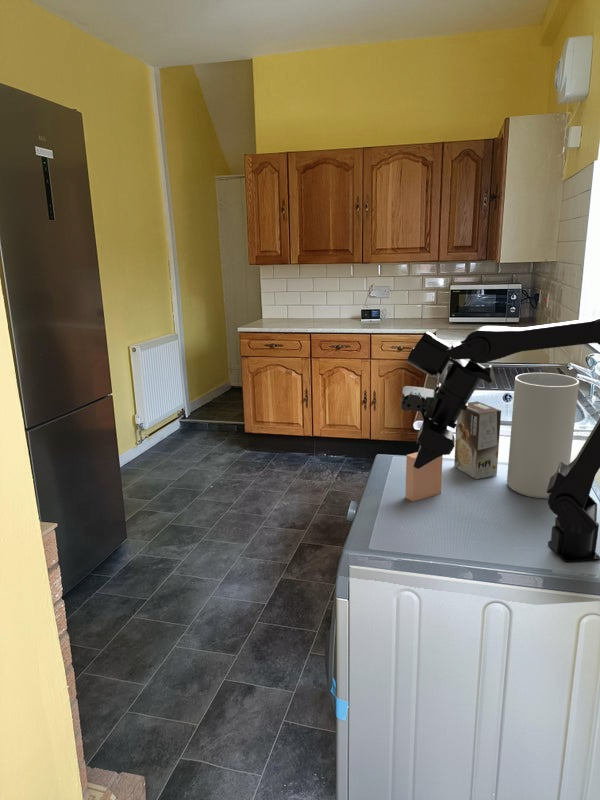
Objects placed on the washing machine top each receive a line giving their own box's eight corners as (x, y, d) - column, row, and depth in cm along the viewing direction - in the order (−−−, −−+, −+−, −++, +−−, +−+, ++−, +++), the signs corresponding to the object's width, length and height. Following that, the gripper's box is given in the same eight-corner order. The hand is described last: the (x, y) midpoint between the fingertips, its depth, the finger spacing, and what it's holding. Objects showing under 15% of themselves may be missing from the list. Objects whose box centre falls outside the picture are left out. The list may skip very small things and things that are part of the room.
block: (440, 493, 127) (442, 451, 124) (412, 501, 123) (413, 458, 120) (432, 489, 129) (434, 447, 126) (404, 497, 125) (405, 454, 122)
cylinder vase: (494, 483, 131) (502, 377, 124) (532, 472, 136) (542, 370, 130) (540, 504, 120) (551, 389, 113) (579, 491, 126) (592, 381, 119)
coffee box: (498, 475, 135) (503, 410, 131) (475, 479, 133) (480, 414, 129) (473, 462, 143) (477, 400, 139) (452, 466, 141) (455, 403, 137)
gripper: (418, 355, 113) (384, 418, 120) (412, 389, 96) (373, 460, 103) (470, 379, 113) (433, 441, 119) (473, 417, 96) (429, 487, 103)
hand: (417, 456), depth 111 cm, fingers open, 9 cm apart
